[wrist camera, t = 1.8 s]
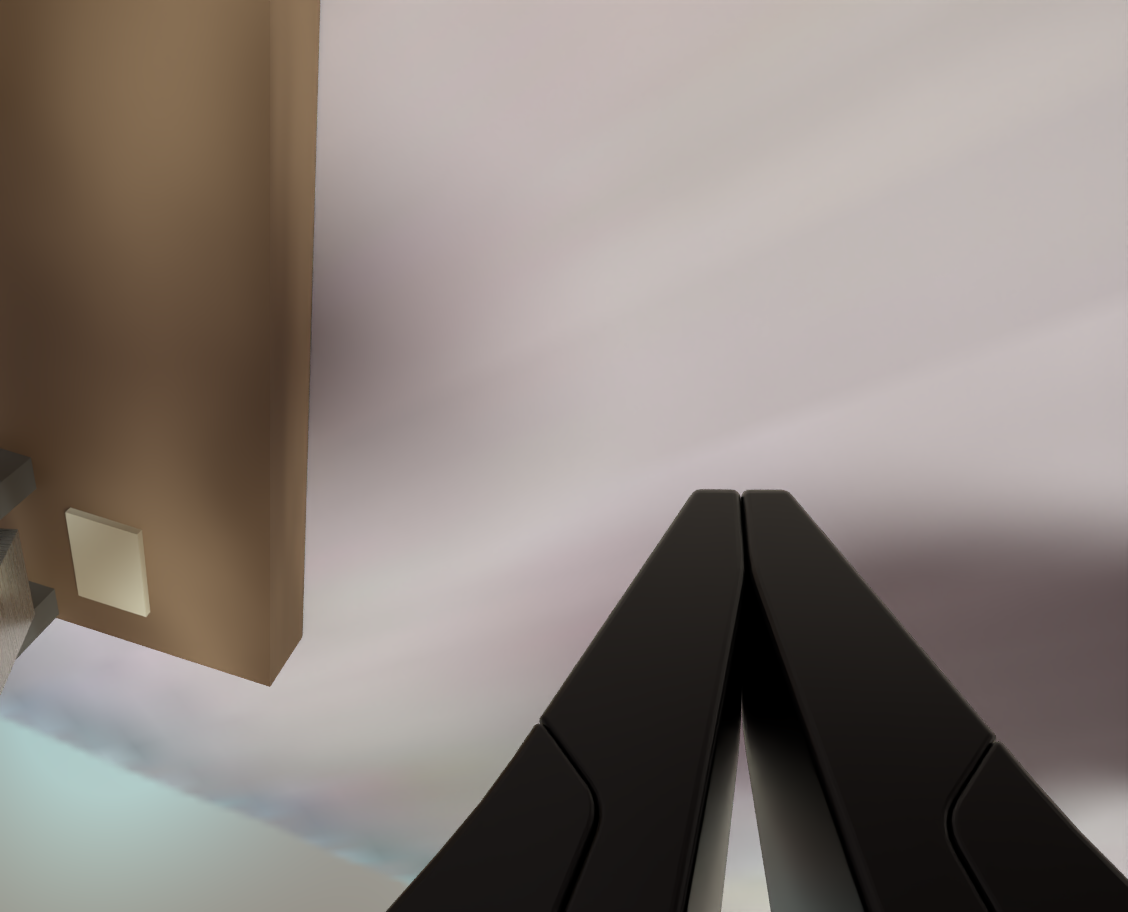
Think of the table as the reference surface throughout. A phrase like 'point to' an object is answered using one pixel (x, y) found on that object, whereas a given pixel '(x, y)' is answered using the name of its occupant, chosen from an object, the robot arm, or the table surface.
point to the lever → (12, 601)
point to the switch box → (159, 318)
